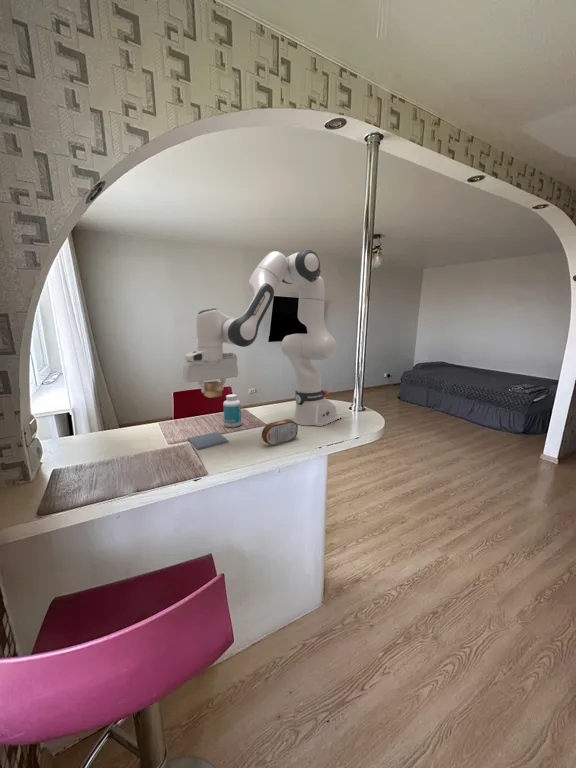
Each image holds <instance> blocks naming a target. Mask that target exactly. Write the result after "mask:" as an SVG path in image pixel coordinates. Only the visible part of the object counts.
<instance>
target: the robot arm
mask: <svg viewBox="0 0 576 768" xmlns="http://www.w3.org/2000/svg"><path fill="white" fill-rule="evenodd" d="M320 274H321V262H320V259H319V256H318V254H317V253H316V252H315V251H313V250H311V249H304V250H303V249H302V250H301V251H298V252H295V253H292V254H291V255H289V256H287V257H286V255H285V254H283V253H282V252H280V251H276V250H275V251H271V252H269V253H267V254H266V255H265V256H264V258H263V259H262V260H261V261H260V262H259V263H258V265H257V266H256V268H255V269H254V270H253V272H252V273H251V274H250V278H249V281H248V287H249V291H250V292H251V293H252V294H253V298H252V300H251V302H250V303H249V305H248V307H247V308H246V311H245V312H244V314H242V315H241V316H239V317H232V316H229V315H228V314H225V313H223V312H222V311H220V310H219V309H218V308H207V309H202V310H200V311H199V312H198V313H197V315H196V336H197V349H195V350H193V351H190V352H187V353H186V354H184V359H185V360H186V361H184V363H183V367H182V379H183V380H184V381H185V382H187V383H194V382H197V384H198V385H199V388H200V389H201V390H200V391H201V393H202V394H204V393H206V392H207V388H206V387H204V385H203V382H207V381H213V380H214V381H215V380H220V381H219V382H221V387H222V391H224V386H225V384H226V382H227V380H226V379H231V378H237V377H238V375H239V369H238V356H237V355H236V354H235V353H234V352H229V353H227V352H224V350H223V343H225V344H229V345H233V346H234V345H235V346H238V347H242V348H243V347H249V346H251V345H252V344H253V343H254V342H255V341H256V339H257V336H258V334H259V333H258V332H259V329H260V328H259V327H260V324H261V322H262V320H263V319H264V317H265V314H266V313H267V312H268V309H269V307H270V305H271V303H272V301H273V299H274V297H275V293H276V292H277V290H278V288H279V287H280V285H281V284H282V283H283V284H287V285H291V284H297V285H298V287H299V293H298V303H297V304H298V306H297V307H298V308H297V319H298V321H299V322H300V323H301V324H303V325H304V326H305V327H306V331H307V333H292V334H288V335H285V336H284V337H283V339H282V341H281V351H282V353H283V355H284V356H285V357H287V359H288V360H289V361H290V364H291V366H292V367H293V370H294V374H295V375H294V376H295V385H296V387H295V412H294V417H293V419H292V421H294V422H295V423H296V424H297V425H301V426H308V425H316V426H315V427H323V425H324V426H326V425H328V423H329V424H331V423H333V421H334V422H336V421H335V420H337V419H339V420H341V419H342V415H341V414H339V413H337V408H336V405H335V404H334V403H332V401H330V400H329V399H327V398H326V397H325V396H328V395H329V394H330V393H329V390H327V389H326V390H324V389H322V374H321V371H320V370H319V368H316V367H315V366H314V364H313V363H312V360H314V361H324V360H325V361H326V360H330V359H331V360H332V358H333V357H334V356H335V355H336V353H337V349H338V345H337V341H336V339H335V337H334V336H332V334H330V332H329V330H328V329H327V326H326V323H325V301H326V300H325V298H326V295H325V294H326V293H325V281H324V279H323V277H322V276H320ZM337 415H338V416H337ZM340 418H341V419H340ZM337 421H338V420H337ZM330 422H331V423H330Z"/></svg>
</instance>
